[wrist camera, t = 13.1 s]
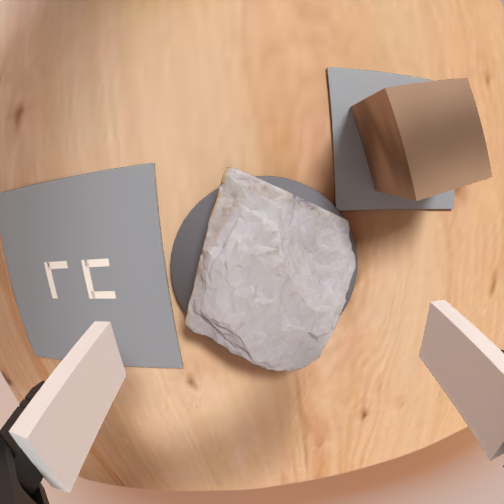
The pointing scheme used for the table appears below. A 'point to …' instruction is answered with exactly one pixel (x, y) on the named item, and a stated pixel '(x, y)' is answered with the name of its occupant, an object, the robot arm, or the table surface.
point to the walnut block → (422, 138)
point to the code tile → (91, 264)
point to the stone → (270, 274)
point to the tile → (350, 146)
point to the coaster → (195, 232)
